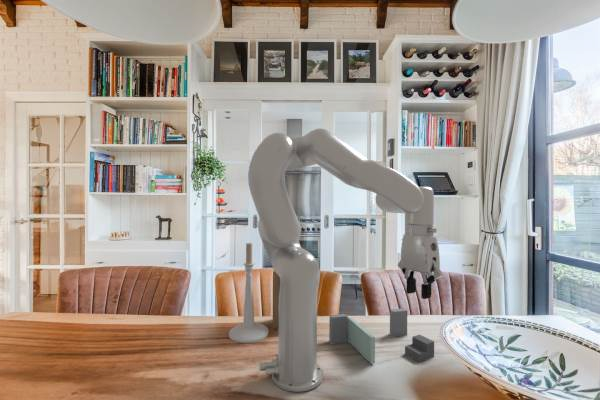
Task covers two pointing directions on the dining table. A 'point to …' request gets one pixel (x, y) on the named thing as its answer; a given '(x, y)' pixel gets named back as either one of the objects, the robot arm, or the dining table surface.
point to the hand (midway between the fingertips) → (418, 294)
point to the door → (361, 339)
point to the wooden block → (276, 300)
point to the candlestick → (248, 310)
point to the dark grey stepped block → (420, 348)
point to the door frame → (340, 325)
